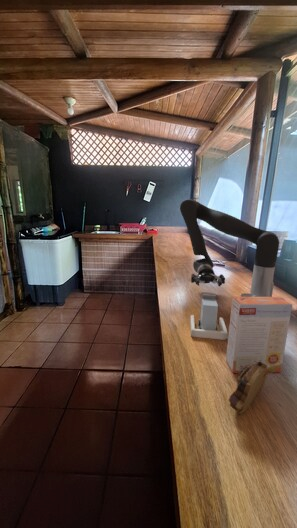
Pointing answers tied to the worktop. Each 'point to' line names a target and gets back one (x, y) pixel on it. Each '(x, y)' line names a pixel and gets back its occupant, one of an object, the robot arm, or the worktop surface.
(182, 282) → the worktop surface
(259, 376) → the wooden carving
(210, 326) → the grey tall block
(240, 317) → the cracker box
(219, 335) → the bay
